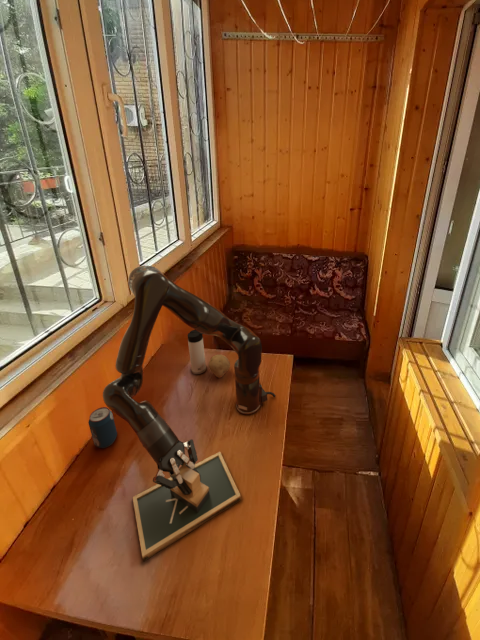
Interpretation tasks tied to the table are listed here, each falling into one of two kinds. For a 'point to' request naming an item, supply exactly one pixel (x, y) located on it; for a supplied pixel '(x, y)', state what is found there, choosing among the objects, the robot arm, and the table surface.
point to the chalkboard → (182, 507)
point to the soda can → (102, 427)
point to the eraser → (198, 489)
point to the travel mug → (196, 352)
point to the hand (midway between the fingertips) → (194, 486)
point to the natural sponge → (219, 365)
